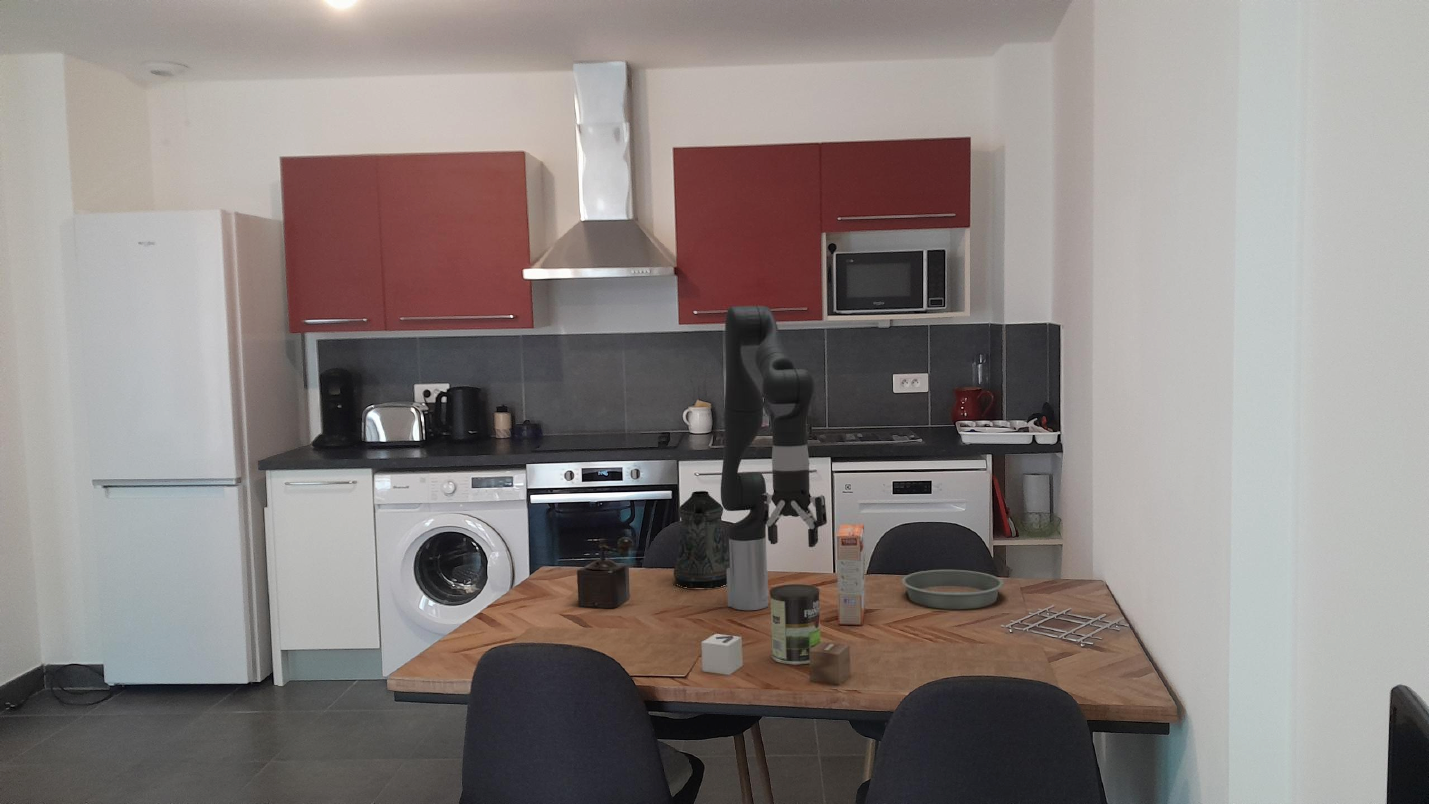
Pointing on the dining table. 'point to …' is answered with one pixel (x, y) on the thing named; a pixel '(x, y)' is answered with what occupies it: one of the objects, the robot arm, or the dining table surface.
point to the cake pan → (952, 579)
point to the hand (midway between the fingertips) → (793, 544)
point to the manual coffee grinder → (605, 579)
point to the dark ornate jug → (701, 544)
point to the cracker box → (851, 574)
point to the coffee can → (794, 622)
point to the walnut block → (829, 662)
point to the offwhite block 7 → (722, 654)
